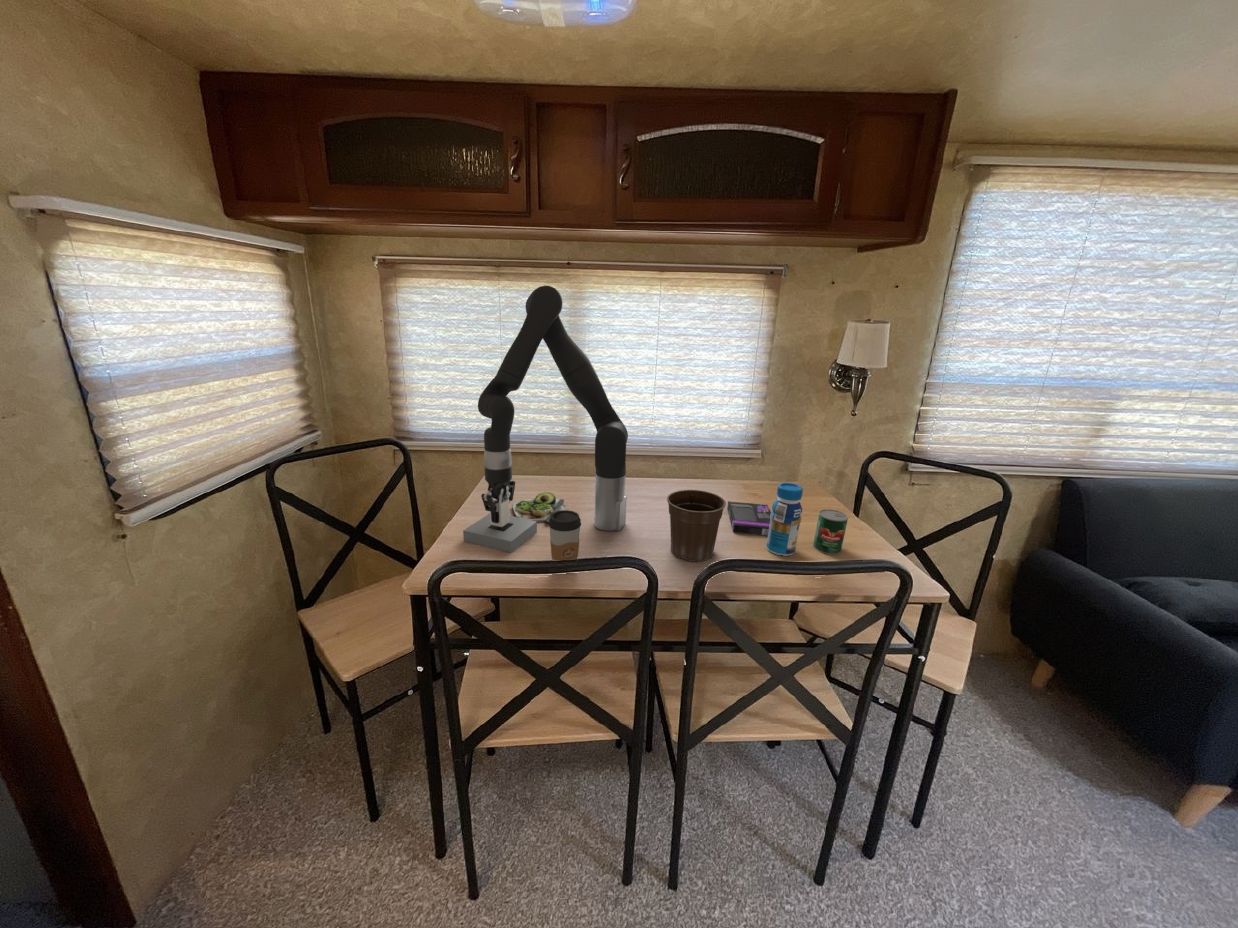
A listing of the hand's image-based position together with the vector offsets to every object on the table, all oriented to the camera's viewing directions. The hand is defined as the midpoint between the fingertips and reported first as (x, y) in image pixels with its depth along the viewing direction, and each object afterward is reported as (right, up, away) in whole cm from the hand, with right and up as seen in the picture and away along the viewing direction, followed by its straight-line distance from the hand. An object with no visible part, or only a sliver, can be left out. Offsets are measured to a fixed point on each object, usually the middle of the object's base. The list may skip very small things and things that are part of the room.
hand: (500, 519), depth 142 cm
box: (+79, -3, +19) cm, 81 cm away
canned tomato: (+97, -9, +3) cm, 97 cm away
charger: (0, -1, 0) cm, 1 cm away
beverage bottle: (+82, -9, 0) cm, 83 cm away
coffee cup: (+21, -11, -14) cm, 27 cm away
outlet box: (0, -5, +2) cm, 6 cm away
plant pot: (+56, -9, -2) cm, 57 cm away
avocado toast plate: (+8, 0, +20) cm, 22 cm away
